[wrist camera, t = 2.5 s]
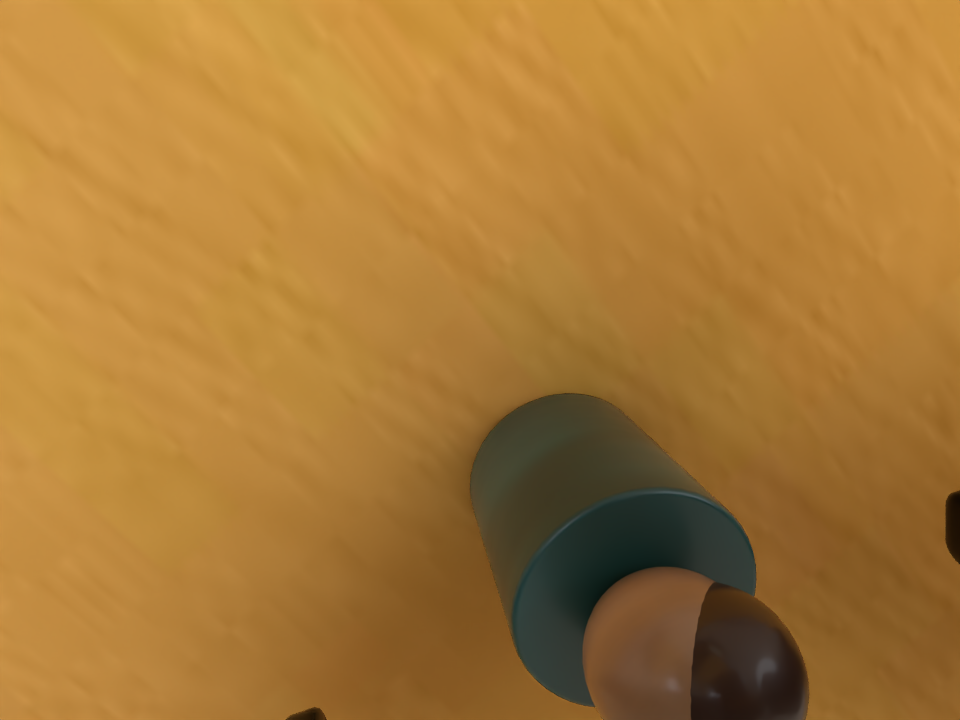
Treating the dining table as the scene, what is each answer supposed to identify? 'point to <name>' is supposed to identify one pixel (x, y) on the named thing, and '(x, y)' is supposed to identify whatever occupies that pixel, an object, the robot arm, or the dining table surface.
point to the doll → (626, 573)
